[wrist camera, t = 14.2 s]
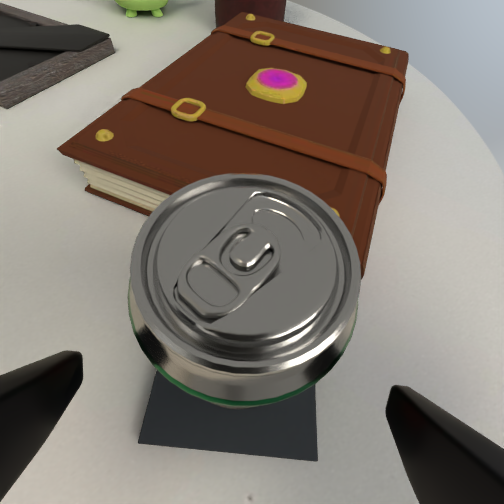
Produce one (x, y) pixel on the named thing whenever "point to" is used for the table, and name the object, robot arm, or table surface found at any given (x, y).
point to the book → (255, 120)
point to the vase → (248, 9)
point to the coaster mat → (231, 424)
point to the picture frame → (43, 52)
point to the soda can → (243, 289)
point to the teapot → (142, 6)
